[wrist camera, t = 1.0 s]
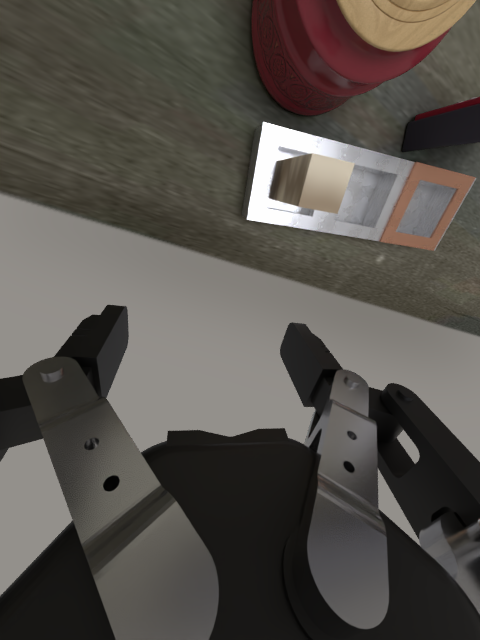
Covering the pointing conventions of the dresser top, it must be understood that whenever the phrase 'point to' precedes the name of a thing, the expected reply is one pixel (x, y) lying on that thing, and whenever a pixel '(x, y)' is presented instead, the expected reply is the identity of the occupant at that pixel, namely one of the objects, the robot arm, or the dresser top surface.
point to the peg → (311, 182)
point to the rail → (358, 192)
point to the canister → (343, 45)
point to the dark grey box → (445, 126)
